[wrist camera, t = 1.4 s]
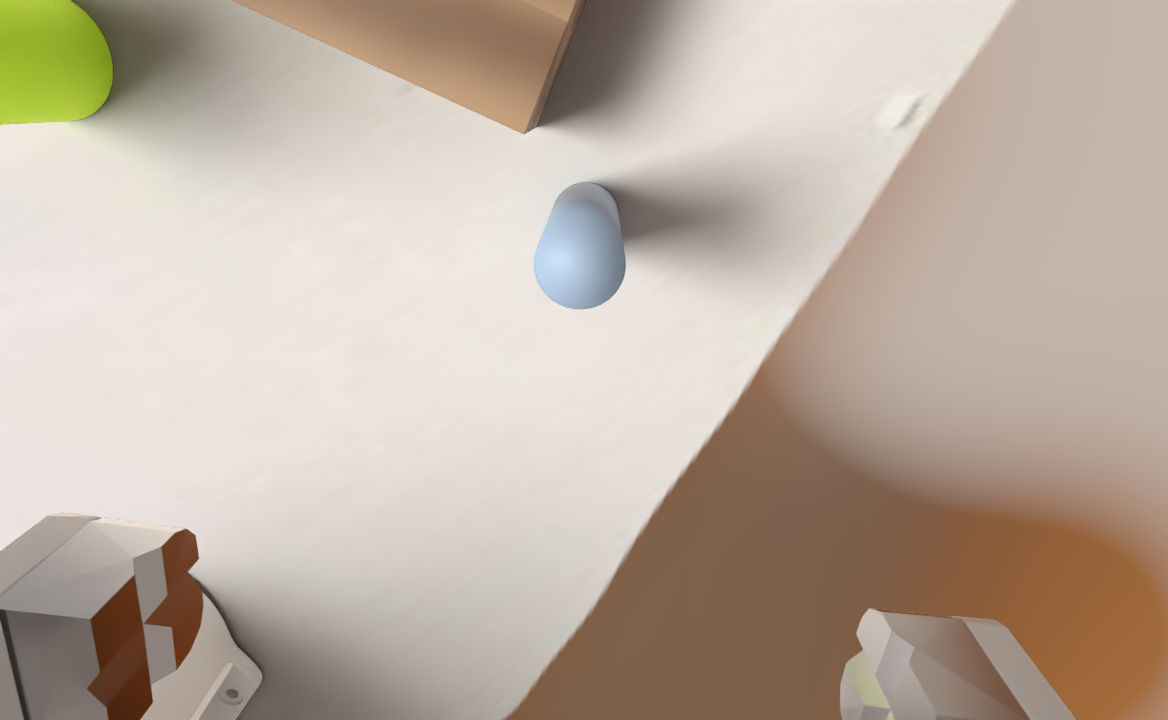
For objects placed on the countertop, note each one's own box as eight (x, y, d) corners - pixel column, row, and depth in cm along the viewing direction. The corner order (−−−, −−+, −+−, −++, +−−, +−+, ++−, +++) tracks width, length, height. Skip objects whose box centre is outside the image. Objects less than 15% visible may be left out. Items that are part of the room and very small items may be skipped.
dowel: (602, 258, 37) (602, 323, 26) (542, 232, 36) (520, 287, 26) (629, 199, 36) (640, 242, 25) (568, 171, 35) (555, 204, 25)
